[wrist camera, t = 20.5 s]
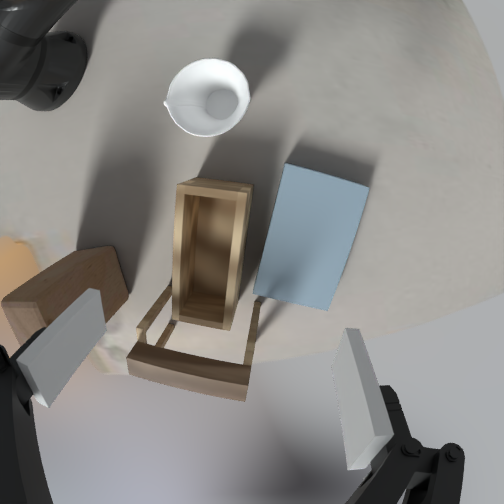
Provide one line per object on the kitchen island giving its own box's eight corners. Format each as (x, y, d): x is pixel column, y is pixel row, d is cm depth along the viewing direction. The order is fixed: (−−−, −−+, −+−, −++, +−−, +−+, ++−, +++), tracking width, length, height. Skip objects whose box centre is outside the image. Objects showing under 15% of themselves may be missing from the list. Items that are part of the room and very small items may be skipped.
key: (137, 341, 34) (126, 357, 31) (251, 366, 34) (248, 385, 31) (139, 357, 36) (129, 374, 32) (248, 382, 35) (245, 401, 32)
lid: (284, 162, 38) (285, 163, 34) (361, 184, 37) (369, 187, 34) (255, 281, 44) (252, 293, 40) (324, 297, 44) (327, 310, 40)
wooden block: (115, 243, 44) (34, 300, 25) (132, 297, 47) (69, 371, 28) (73, 249, 45) (-4, 300, 26) (90, 299, 48) (26, 361, 30)
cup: (189, 81, 34) (162, 63, 25) (257, 76, 33) (249, 53, 24) (190, 141, 37) (162, 140, 28) (258, 138, 36) (250, 134, 27)
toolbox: (173, 174, 39) (132, 186, 28) (279, 188, 38) (279, 205, 27) (168, 328, 48) (141, 373, 37) (253, 344, 48) (245, 397, 36)
